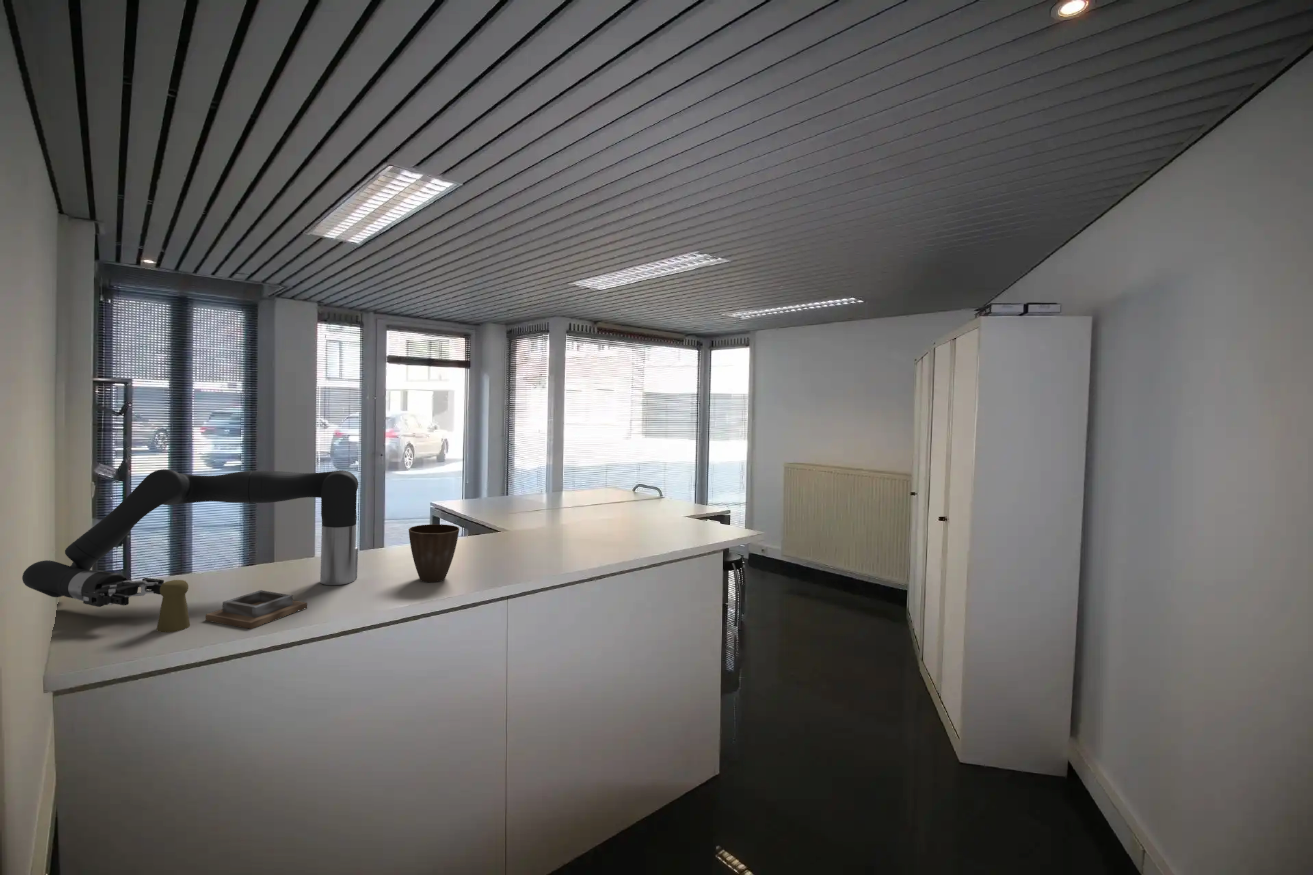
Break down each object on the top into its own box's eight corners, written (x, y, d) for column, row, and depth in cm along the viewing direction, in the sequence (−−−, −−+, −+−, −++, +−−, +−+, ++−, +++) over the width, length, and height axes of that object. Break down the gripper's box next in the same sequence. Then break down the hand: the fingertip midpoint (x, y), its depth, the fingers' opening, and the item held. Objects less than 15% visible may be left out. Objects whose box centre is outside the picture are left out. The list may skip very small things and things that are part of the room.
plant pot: (404, 574, 192) (406, 524, 191) (453, 570, 199) (455, 522, 198) (409, 587, 179) (411, 534, 178) (461, 583, 186) (463, 532, 185)
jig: (264, 601, 161) (264, 586, 161) (306, 608, 157) (307, 593, 157) (205, 620, 146) (205, 604, 145) (250, 628, 142) (251, 612, 142)
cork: (196, 623, 144) (197, 577, 143) (176, 632, 138) (177, 585, 137) (170, 622, 143) (171, 576, 143) (149, 631, 137) (150, 584, 137)
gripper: (62, 579, 140) (113, 587, 135) (130, 564, 153) (178, 572, 149) (62, 611, 140) (113, 620, 136) (130, 593, 154) (178, 602, 150)
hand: (147, 595), depth 142 cm, fingers open, 8 cm apart
